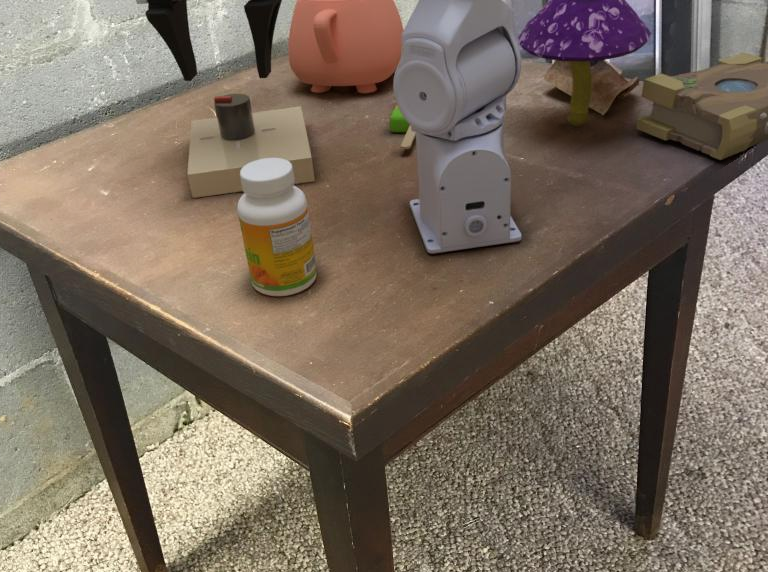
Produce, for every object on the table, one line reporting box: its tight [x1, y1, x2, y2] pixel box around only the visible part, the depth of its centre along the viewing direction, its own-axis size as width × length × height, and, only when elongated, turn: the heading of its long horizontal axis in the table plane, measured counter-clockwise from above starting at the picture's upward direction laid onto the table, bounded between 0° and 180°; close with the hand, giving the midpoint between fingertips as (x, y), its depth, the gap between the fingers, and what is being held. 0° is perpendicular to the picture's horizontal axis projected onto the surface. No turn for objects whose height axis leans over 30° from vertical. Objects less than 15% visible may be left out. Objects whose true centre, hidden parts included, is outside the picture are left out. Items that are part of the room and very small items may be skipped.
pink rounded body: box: [288, 0, 404, 94], centre depth 104 cm, size 13×20×12 cm, turn 164°
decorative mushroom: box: [517, 0, 652, 127], centre depth 85 cm, size 12×12×15 cm
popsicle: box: [389, 104, 416, 150], centre depth 93 cm, size 6×15×2 cm, turn 168°
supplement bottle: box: [236, 158, 318, 297], centre depth 68 cm, size 5×5×10 cm
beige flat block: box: [186, 105, 316, 199], centre depth 90 cm, size 14×12×3 cm
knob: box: [213, 93, 255, 140], centre depth 89 cm, size 4×4×4 cm
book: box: [636, 52, 768, 161], centre depth 85 cm, size 15×11×5 cm
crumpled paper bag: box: [542, 60, 641, 116], centre depth 96 cm, size 6×12×8 cm
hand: (228, 76), depth 86 cm, fingers open, 7 cm apart
